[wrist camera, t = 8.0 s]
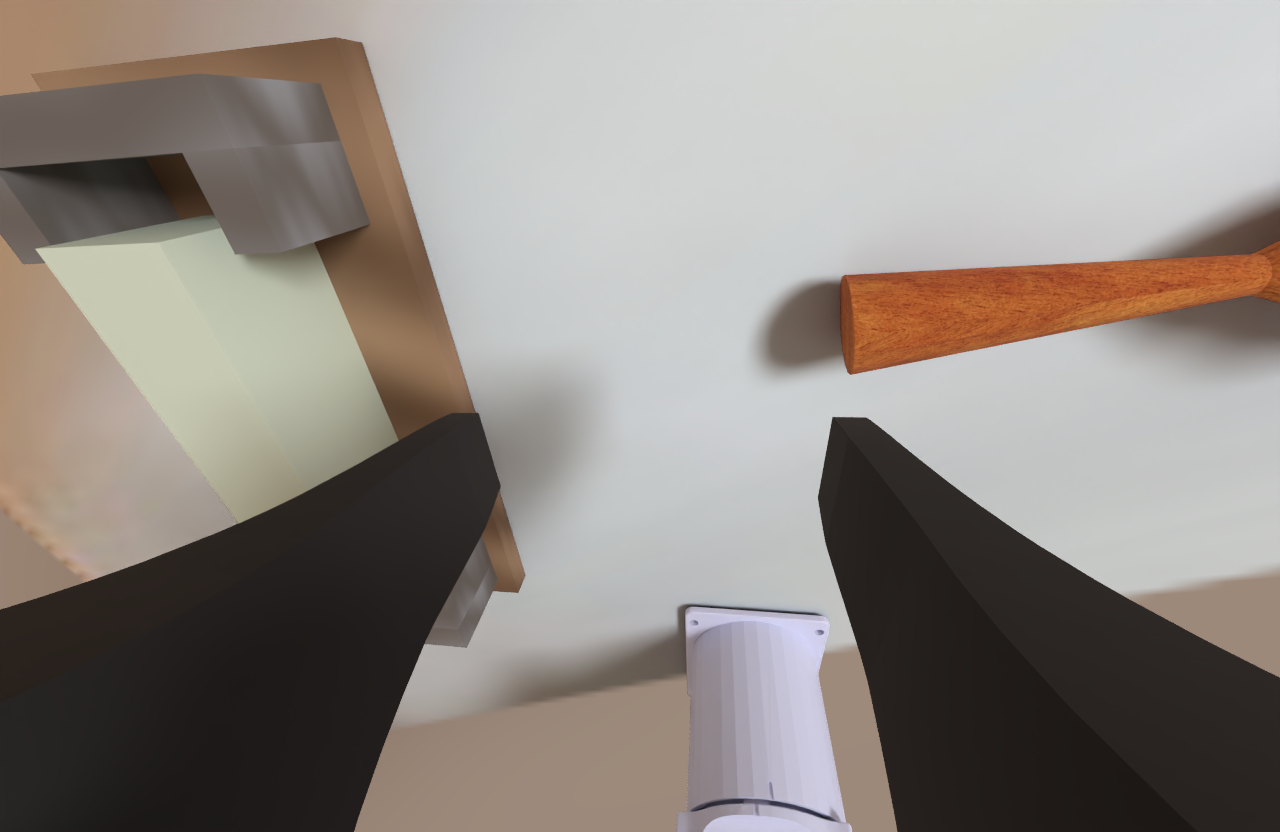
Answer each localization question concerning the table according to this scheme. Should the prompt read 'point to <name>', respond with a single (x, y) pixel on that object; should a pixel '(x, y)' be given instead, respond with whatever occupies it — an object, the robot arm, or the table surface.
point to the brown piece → (1029, 302)
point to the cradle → (259, 211)
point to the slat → (232, 355)
